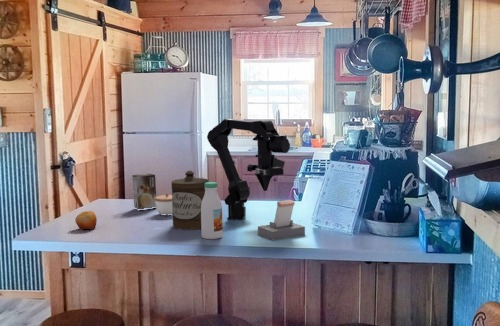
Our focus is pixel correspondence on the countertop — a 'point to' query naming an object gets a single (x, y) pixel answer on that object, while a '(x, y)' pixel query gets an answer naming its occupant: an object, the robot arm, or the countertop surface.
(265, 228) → the switch unit
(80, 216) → the fruit
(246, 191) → the robot arm
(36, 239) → the countertop surface
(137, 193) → the coffee box
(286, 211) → the lever
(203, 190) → the wooden container
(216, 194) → the milk bottle
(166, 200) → the lidded jar
